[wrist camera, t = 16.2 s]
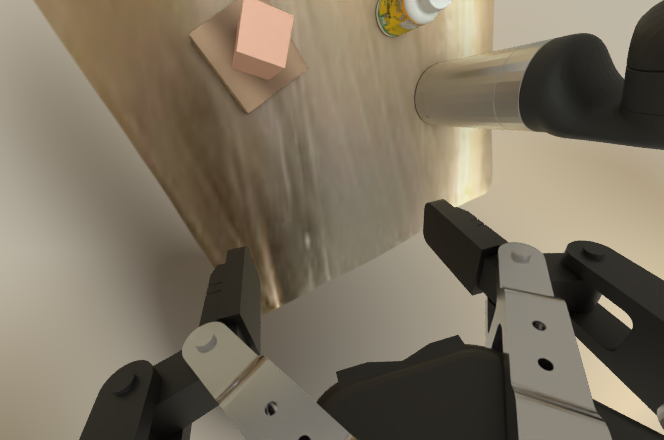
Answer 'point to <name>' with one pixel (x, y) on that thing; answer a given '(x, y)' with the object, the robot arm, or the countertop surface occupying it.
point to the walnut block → (219, 51)
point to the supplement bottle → (406, 14)
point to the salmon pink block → (262, 39)
